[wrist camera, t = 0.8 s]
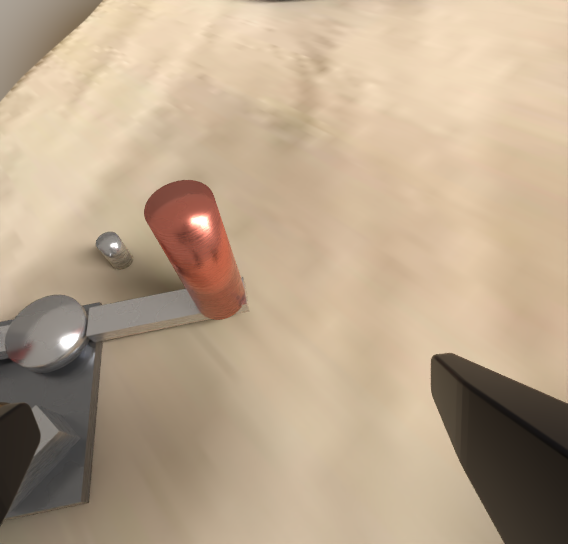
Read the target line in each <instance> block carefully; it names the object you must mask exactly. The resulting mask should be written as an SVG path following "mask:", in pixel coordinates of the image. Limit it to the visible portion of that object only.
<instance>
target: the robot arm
mask: <svg viewBox="0 0 568 544" xmlns="http://www.w3.org/2000/svg"><path fill="white" fill-rule="evenodd" d="M431 392H432V396H433V399H434V402H435V404H436V406H437V409H438V411H439V414H440V416H441V418H442V421H443V423H444V426H445V428H446V430H447V433H448V435H449V438H450V440H451V442H452V445H453V447H454V450H455V452H456V454H457V456H458V459H459V461H460V463H461V465H462V467H463V469H464V471H465V473H466V474H467V476H468V478H469V480H470V482H471V484H472V485H473V487H474V489H475V491H476V493H477V494H478V496H479V498H480V500H481V502H482V504H483V505H484V507H485V509H486V511H487V513H488V514H489V516H490V518H491V520H492V522H493V523H494V525H495V527H496V529H497V531H498V533H499V534H500V536H501V538H502V540H503V542H504V543H505V544H568V404H567V403H565V402H563V401H561V400H558V399H556V398H554V397H551V396H549V395H547V394H545V393H542V392H540V391H538V390H535V389H533V388H531V387H528V386H526V385H524V384H522V383H519V382H517V381H515V380H512V379H510V378H508V377H506V376H503V375H501V374H499V373H496V372H494V371H492V370H490V369H487V368H485V367H483V366H480V365H478V364H476V363H473V362H471V361H469V360H467V359H464V358H462V357H460V356H457V355H455V354H453V353H444V354H436V355H433V357H432V359H431ZM40 439H41V432H40V429H39V427H38V424H37V422H36V419H35V416H34V414H33V411H32V409H31V407H30V405H28V404H27V403H25V402H21V403H12V404H6V405H4V406H2V407H0V526H1V524H2V522H3V521H4V519H5V517H6V515H7V513H8V511H9V509H10V507H11V505H12V503H13V501H14V499H15V496H16V494H17V492H18V490H19V488H20V485H21V483H22V481H23V479H24V477H25V474H26V472H27V470H28V468H29V466H30V463H31V461H32V459H33V457H34V455H35V452H36V450H37V448H38V446H39V443H40Z"/></svg>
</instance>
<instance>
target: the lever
mask: <svg viewBox="0 0 568 544" xmlns="http://www.w3.org/2000/svg"><path fill="white" fill-rule="evenodd" d="M144 216H145V219H146V221H147V223H148V225H149V227H150V228H151V230H152V232H153V233H154V235H155V237H156V239H157V240H158V242H159V244H160V245H161V247H162V249H163V250H164V252H165V254H166V256H167V257H168V259H169V261H170V262H171V264H172V266H173V268H174V269H175V271H176V273H177V274H178V276H179V278H180V279H181V281H182V283H183V285H184V286H185V288H186V289H181V290H176V291H171V292H166V293H161V294H156V295H151V296H146V297H141V298H136V299H131V300H126V301H121V302H116V303H111V304H106V305H101V306H96V307H91V308H89V312H88V311H87V310H86V309H85V308H84V307H83V306H82V305H80V304H79V303H78V302H77V301H76V300H75V299H73V298H71V297H69V296H65V295H51V296H47V297H44V298H41V299H39V300H36V301H35V302H33V303H31V304H30V305H28V306H27V307H26V308H24V309H23V310H22V311H21V312H20V313H19V314H18V315H17V316H16V317H15V319H14V320H13V321H12V323H11V325H7V326H1V327H0V360H2V359H7V358H10V359H11V360H12V361H13V362H15V363H17V364H19V365H21V366H23V367H25V368H27V369H29V370H31V371H33V372H38V373H46V372H52V371H55V370H58V369H60V368H62V367H64V366H66V365H68V364H69V363H71V362H72V361H73V360H75V359H76V358H77V357H78V356H79V355H80V354H81V353H82V352H83V350H84V349H85V347H86V346H87V344H88V342H89V340H90V339H91V340H92V341H93V342H99V341H104V340H109V339H114V338H119V337H124V336H129V335H134V334H139V333H144V332H149V331H154V330H159V329H164V328H169V327H174V326H179V325H184V324H189V323H194V322H199V321H203V320H208V319H215V320H220V319H225V318H228V317H230V316H232V315H234V314H238V313H243V312H248V311H249V306H248V299H247V292H246V286H245V282H244V279H243V277H242V278H241V277H240V274H239V271H238V268H237V265H236V262H235V259H234V256H233V253H232V250H231V247H230V244H229V241H228V237H227V234H226V231H225V228H224V225H223V222H222V219H221V216H220V213H219V210H218V207H217V204H216V201H215V198H214V195H213V193H212V191H211V190H210V189H209V187H207V186H206V185H205V184H203V183H200V182H197V181H193V180H181V181H176V182H172V183H169V184H167V185H165V186H163V187H161V188H160V189H158V190H157V191H156V192H154V193H153V194H152V195H151V197H150V198H149V199H148V201H147V203H146V205H145V209H144Z"/></svg>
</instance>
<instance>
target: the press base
mask: <svg viewBox="0 0 568 544" xmlns="http://www.w3.org/2000/svg"><path fill="white" fill-rule="evenodd" d="M96 246H97V248H98V249H99V250H100V251H101V253H102V254H103V255H104V256H105V258H106V259H107V260H108V261H109V262H110V264H111V265H112V266H113V267H114V268H115V269H124V268H126V267H128V266H129V265H130V264H131V263H132V260H133V256H132V255H131V253H130V252H129V250H128V249H127V248H126V246H125V245H124V243H123V242H122V241H121V239H120V238H119V236H118V235H117V234H116V233H114V232H106V233H104V234H102V235H100V236H99V237H98V239H97V240H96ZM101 305H102V304H101V303H100V302H99V303H94V304H89V305H84V306H83V307H84V308H85V309H86V310H87V311H88V312H89V308H91V307H96V306H101ZM13 320H14V319H13ZM13 320H8V321H3V322H0V327H1V326H7V325H11V323H12V321H13ZM102 342H103V341H99V342H93V341H92V340H91V339H90V340H89V342H88V344H87V346H86V347H85V349H84V350H83V352H82V353H81V354H80V355H79V356H78V357H77V358H76V359H75V360H73V361H72V362H71V363H69V364H68V365H66V366H64V367H62V368H60V369H58V370H55V371H52V372H46V373H38V372H33V371H31V370H29V369H27V368H25V367H23V366H21V365H19V364H17V363H15V362H13V361H12V360H11V359H10V358H7V359H2V360H0V407H2V406H4V405H6V404H12V403H21V402H25V403H27V404H28V405H30V407H31V409H32V411H33V414H34V416H35V419H36V422H37V424H38V427H39V429H40V432H41V439H40V443H39V446H38V448H37V450H36V452H35V455H34V457H33V459H32V461H31V463H30V466H29V468H28V470H27V472H26V474H25V477H24V479H23V481H22V483H21V485H20V488H19V490H18V492H17V494H16V496H15V499H14V501H13V503H12V505H11V507H10V509H9V511H8V513H7V515H6V517H5V519H4V521H5V520H10V519H14V518H19V517H24V516H28V515H33V514H38V513H42V512H47V511H52V510H56V509H61V508H66V507H70V506H75V505H80V504H84V503H89V492H90V480H91V469H92V457H93V446H94V434H95V423H96V411H97V400H98V388H99V377H100V365H101V354H102Z"/></svg>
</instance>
